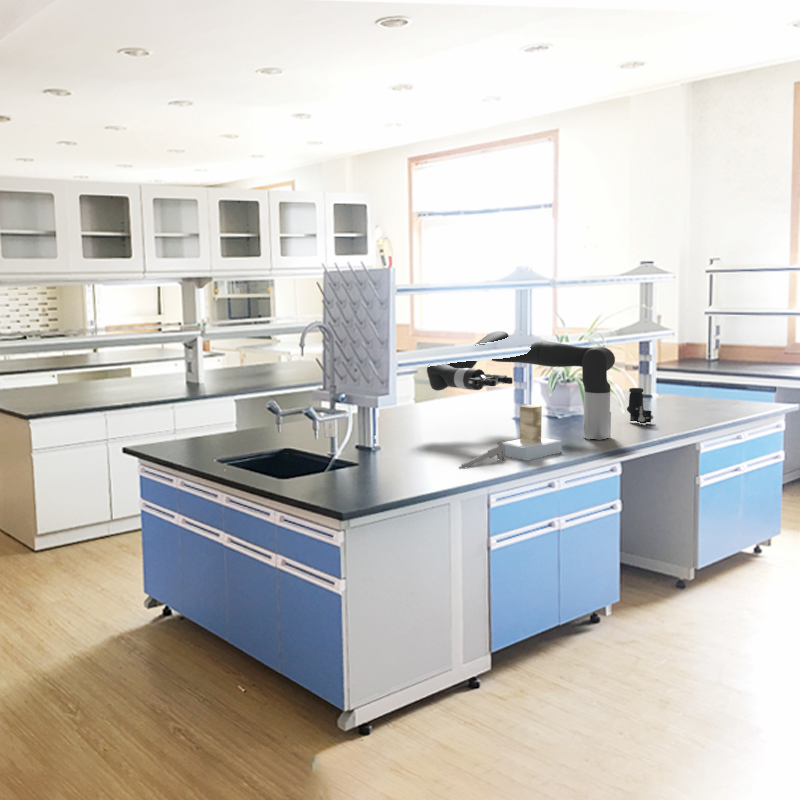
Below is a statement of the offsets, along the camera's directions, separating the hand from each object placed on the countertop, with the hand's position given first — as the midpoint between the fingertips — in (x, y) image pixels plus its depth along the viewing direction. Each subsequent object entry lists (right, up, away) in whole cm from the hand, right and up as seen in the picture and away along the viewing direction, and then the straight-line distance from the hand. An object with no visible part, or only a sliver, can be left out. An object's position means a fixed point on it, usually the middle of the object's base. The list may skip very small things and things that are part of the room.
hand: (503, 381), depth 290 cm
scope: (+60, -16, +49) cm, 79 cm away
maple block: (+8, -20, -6) cm, 23 cm away
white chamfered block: (+8, -24, -6) cm, 26 cm away
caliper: (-9, -27, -19) cm, 34 cm away
